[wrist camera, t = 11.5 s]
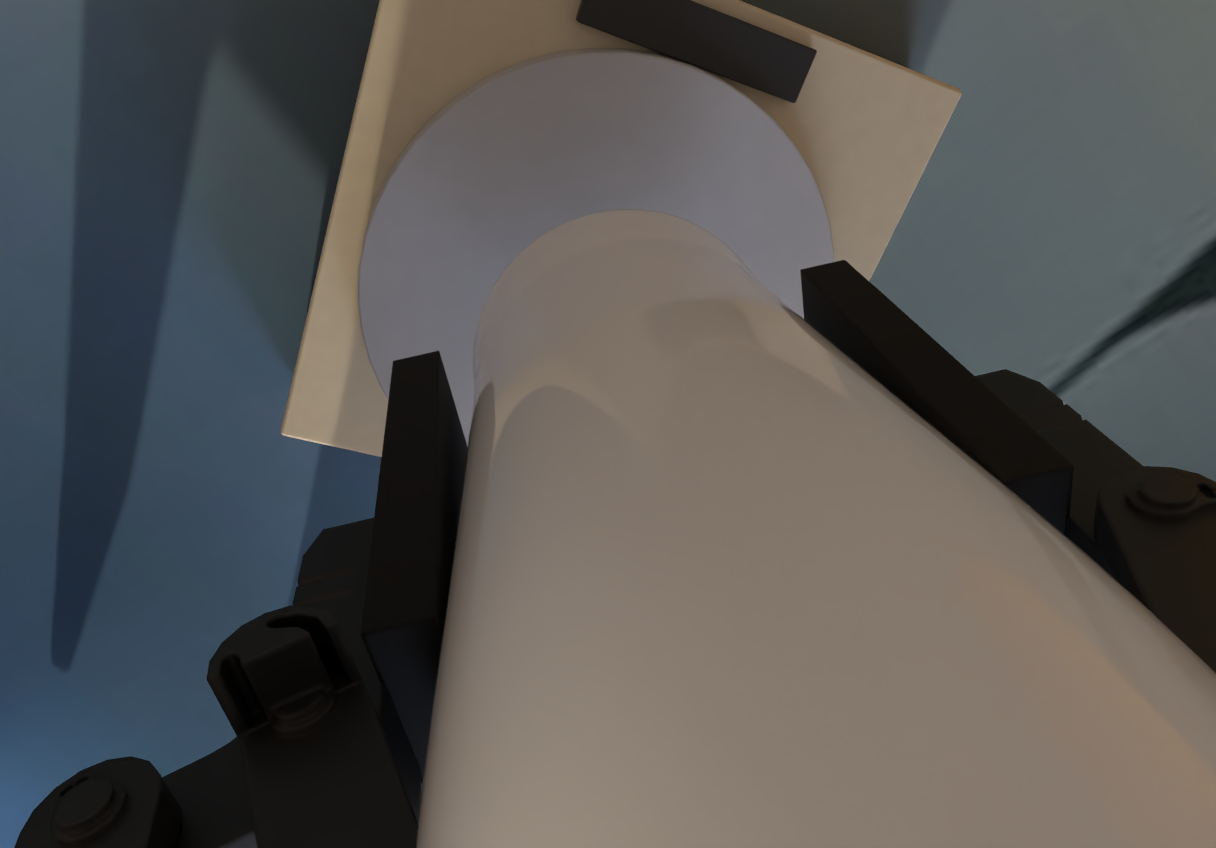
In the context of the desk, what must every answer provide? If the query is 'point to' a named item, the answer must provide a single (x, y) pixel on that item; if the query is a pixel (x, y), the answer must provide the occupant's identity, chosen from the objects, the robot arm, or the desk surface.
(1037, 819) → the drinking glass
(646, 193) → the scale
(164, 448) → the desk surface
